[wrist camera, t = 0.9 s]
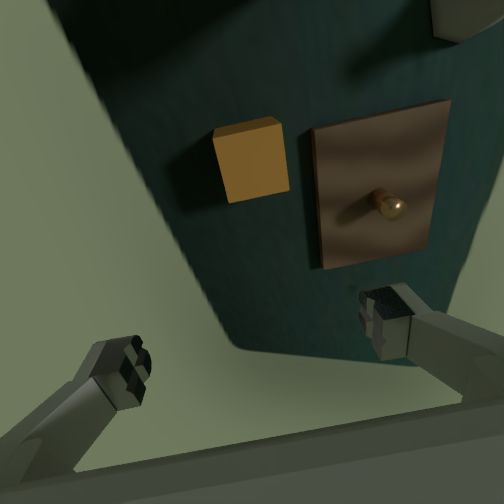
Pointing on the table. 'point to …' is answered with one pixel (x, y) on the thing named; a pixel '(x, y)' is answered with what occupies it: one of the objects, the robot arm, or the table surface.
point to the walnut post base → (377, 182)
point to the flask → (464, 17)
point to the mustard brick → (252, 158)
